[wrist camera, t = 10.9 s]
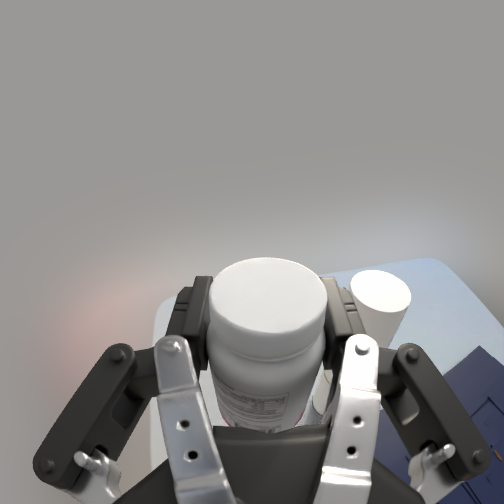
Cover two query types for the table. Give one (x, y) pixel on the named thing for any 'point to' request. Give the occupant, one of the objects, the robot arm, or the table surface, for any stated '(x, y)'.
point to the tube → (372, 316)
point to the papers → (483, 415)
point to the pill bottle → (265, 341)
